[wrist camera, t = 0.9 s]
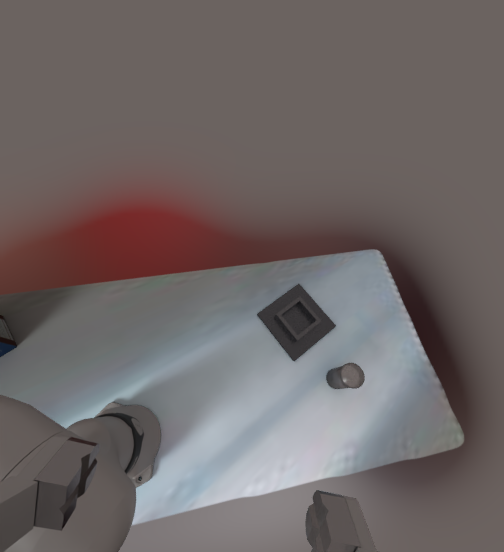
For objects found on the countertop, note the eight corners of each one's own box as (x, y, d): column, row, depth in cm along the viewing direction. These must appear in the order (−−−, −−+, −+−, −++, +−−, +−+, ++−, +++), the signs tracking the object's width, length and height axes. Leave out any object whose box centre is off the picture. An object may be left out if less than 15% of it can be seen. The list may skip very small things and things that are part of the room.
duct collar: (293, 361, 71) (296, 359, 68) (257, 314, 76) (258, 311, 73) (335, 326, 76) (339, 323, 73) (298, 284, 81) (300, 280, 78)
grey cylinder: (335, 394, 68) (353, 393, 58) (321, 376, 70) (336, 372, 60) (349, 380, 70) (369, 377, 60) (335, 363, 71) (352, 357, 62)
